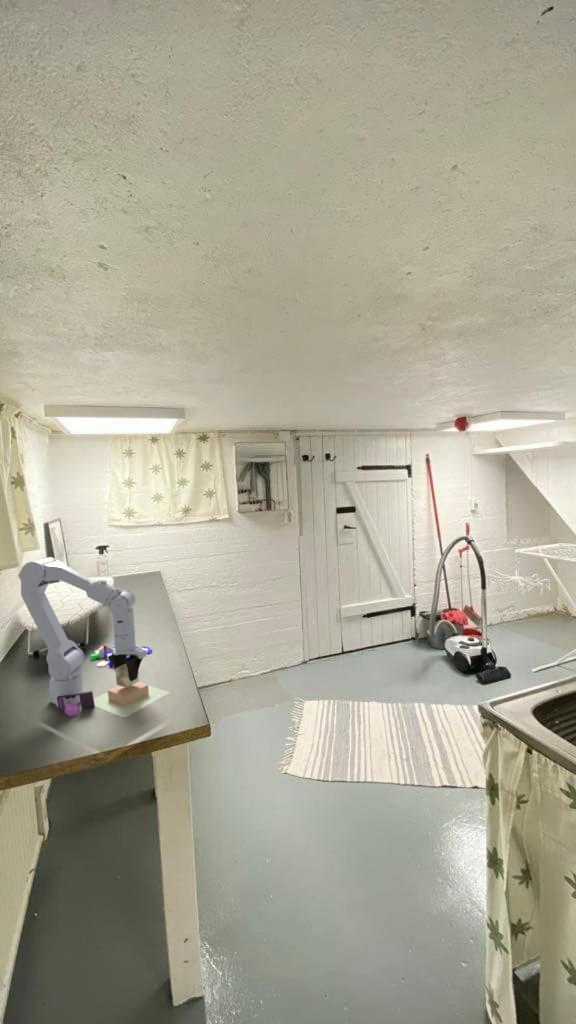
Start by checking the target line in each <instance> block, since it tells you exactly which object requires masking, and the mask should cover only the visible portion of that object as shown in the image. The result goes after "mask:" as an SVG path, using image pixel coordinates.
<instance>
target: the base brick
mask: <svg viewBox="0 0 576 1024" xmlns="http://www.w3.org/2000/svg"><path fill="white" fill-rule="evenodd" d="M107 692H108V699H109V701H112V702H114V703H117V704H120V705H122V706H125V707H126V706H128V705H130V704H132V703H134V702H136V701H137V700H139V699H141V698H143V697H145V696H147V695H149V691H148V684H147V683H144V682H140V681H138V682H136V683H135V684H133V685H131V686H129V687H123V686H119V685H116V686H114V687H111V688H110V689H107Z"/></svg>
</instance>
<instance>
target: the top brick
mask: <svg viewBox="0 0 576 1024" xmlns="http://www.w3.org/2000/svg"><path fill="white" fill-rule="evenodd" d="M139 674H140V673H139V671H138V675H137V679H135V680H133V681H130V679H129V674H128V669H127V666H126V664H124V665H121V666H119V667H117V668H116V670H115V679H116V686H118V685H119V686H123V687H129V686H131V685H133V684H135V683H136V682H140V677H139V676H140V675H139Z"/></svg>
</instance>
